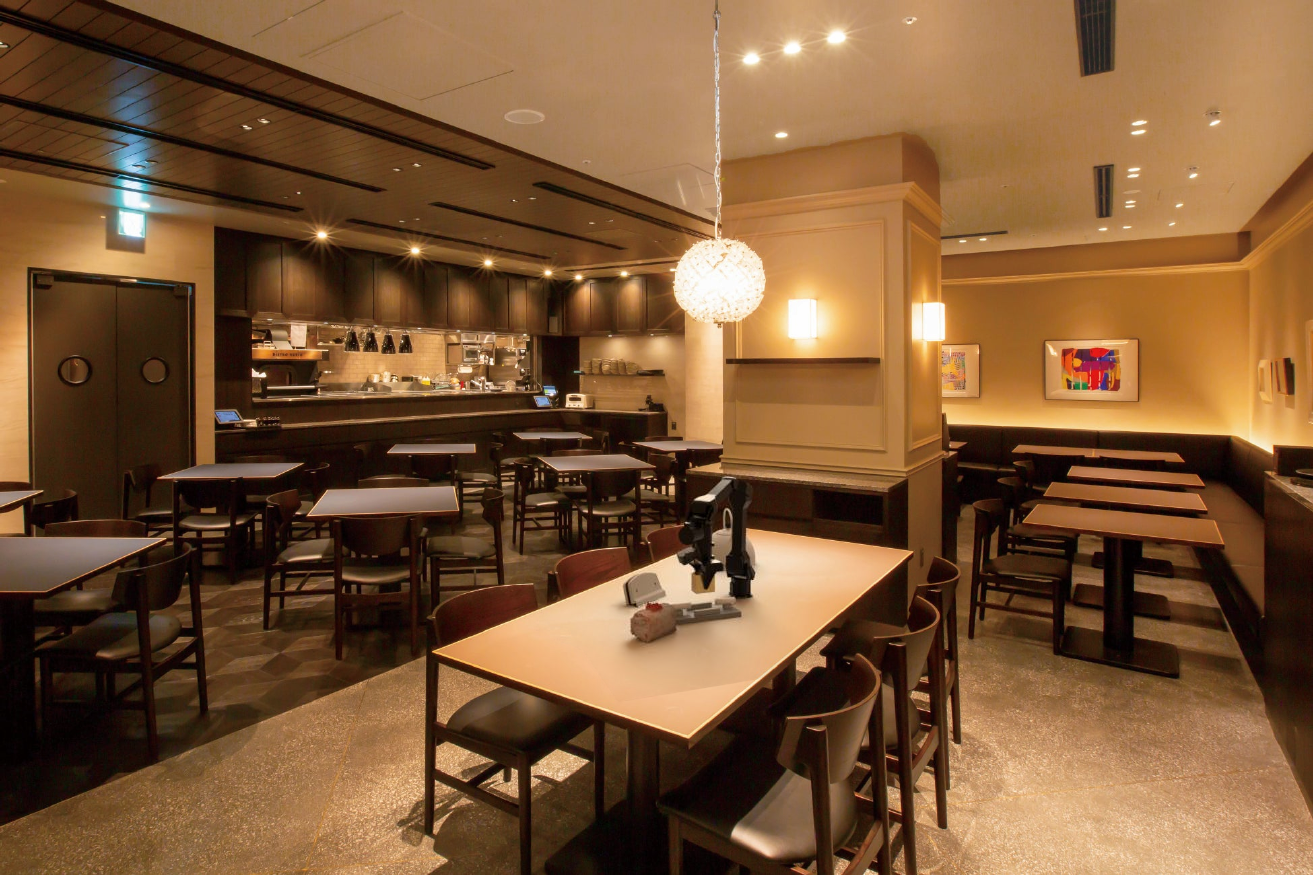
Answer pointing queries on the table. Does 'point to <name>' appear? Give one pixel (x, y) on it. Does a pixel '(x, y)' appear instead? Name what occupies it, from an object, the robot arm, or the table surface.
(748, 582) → the robot arm
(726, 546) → the kettle
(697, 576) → the block
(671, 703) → the table surface
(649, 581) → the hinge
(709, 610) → the shaft stand
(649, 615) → the food item
